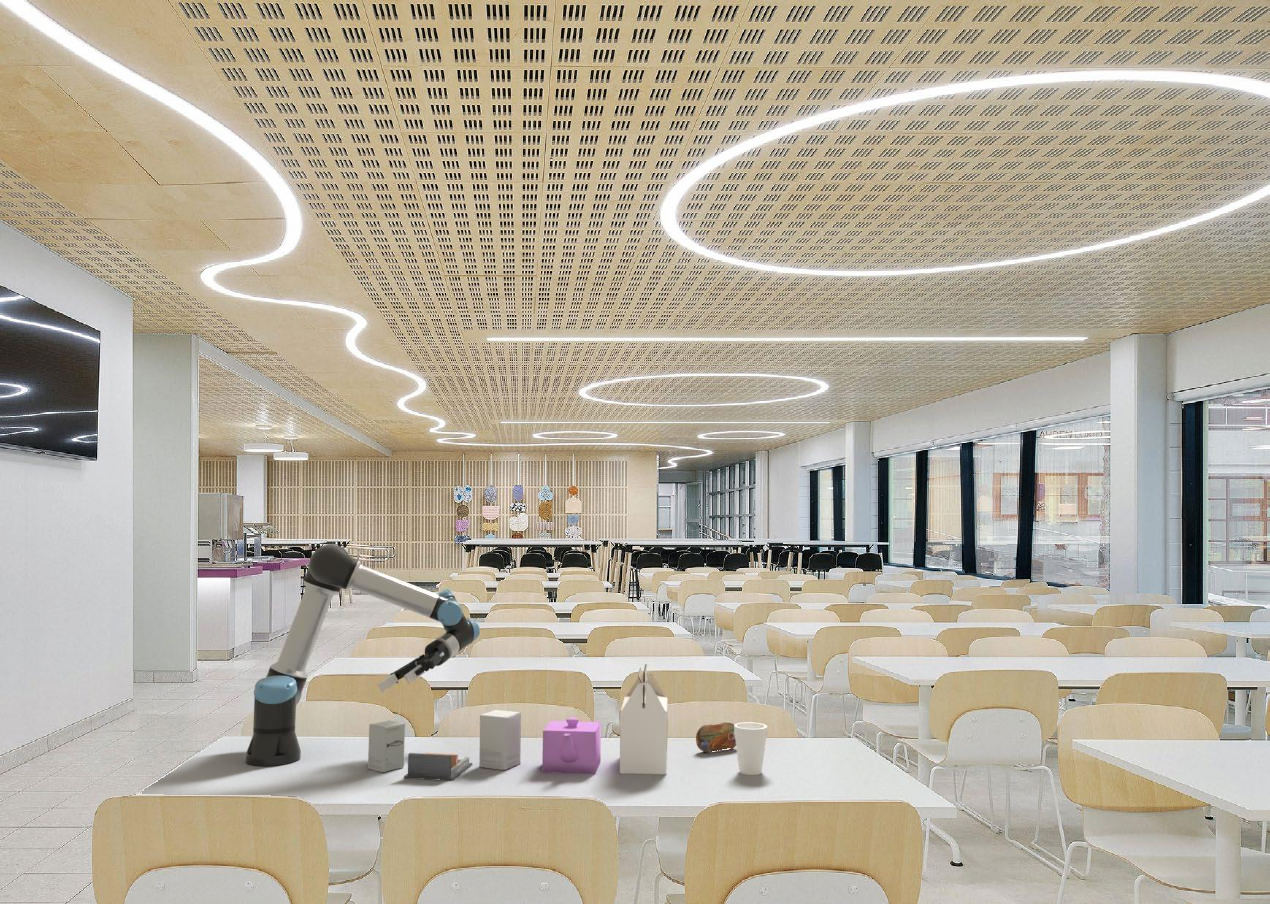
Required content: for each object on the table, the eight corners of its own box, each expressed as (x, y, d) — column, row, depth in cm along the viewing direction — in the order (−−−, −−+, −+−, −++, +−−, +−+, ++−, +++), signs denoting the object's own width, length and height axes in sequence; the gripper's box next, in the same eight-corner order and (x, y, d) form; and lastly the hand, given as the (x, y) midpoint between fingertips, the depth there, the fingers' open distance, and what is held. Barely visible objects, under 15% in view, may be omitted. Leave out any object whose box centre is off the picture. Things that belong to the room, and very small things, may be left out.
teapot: (537, 779, 269) (538, 727, 270) (552, 757, 294) (552, 709, 295) (592, 780, 268) (593, 729, 269) (602, 758, 293) (602, 710, 294)
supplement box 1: (383, 773, 273) (385, 727, 274) (367, 768, 278) (368, 723, 279) (404, 767, 279) (405, 723, 280) (388, 763, 284) (389, 719, 284)
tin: (699, 754, 298) (700, 726, 299) (694, 752, 301) (694, 724, 302) (739, 749, 306) (739, 721, 307) (733, 747, 309) (733, 720, 309)
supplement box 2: (521, 763, 285) (522, 711, 286) (505, 770, 277) (505, 717, 278) (495, 760, 289) (496, 708, 290) (478, 767, 281) (479, 714, 282)
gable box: (623, 754, 297) (624, 661, 299) (667, 755, 297) (667, 662, 298) (619, 774, 275) (620, 673, 277) (666, 775, 274) (667, 674, 276)
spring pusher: (424, 767, 277) (424, 753, 277) (425, 766, 278) (426, 752, 279) (456, 768, 276) (456, 755, 276) (457, 767, 277) (457, 754, 277)
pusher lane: (404, 778, 268) (404, 753, 269) (426, 762, 285) (426, 739, 286) (453, 780, 266) (453, 755, 267) (472, 764, 283) (472, 741, 283)
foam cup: (745, 777, 272) (745, 730, 273) (727, 770, 280) (727, 724, 281) (773, 774, 276) (773, 727, 277) (755, 766, 285) (755, 721, 285)
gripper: (471, 652, 300) (424, 687, 283) (423, 668, 315) (375, 702, 298) (460, 630, 300) (412, 664, 283) (412, 647, 315) (364, 680, 298)
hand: (393, 684), depth 291 cm, fingers open, 13 cm apart
